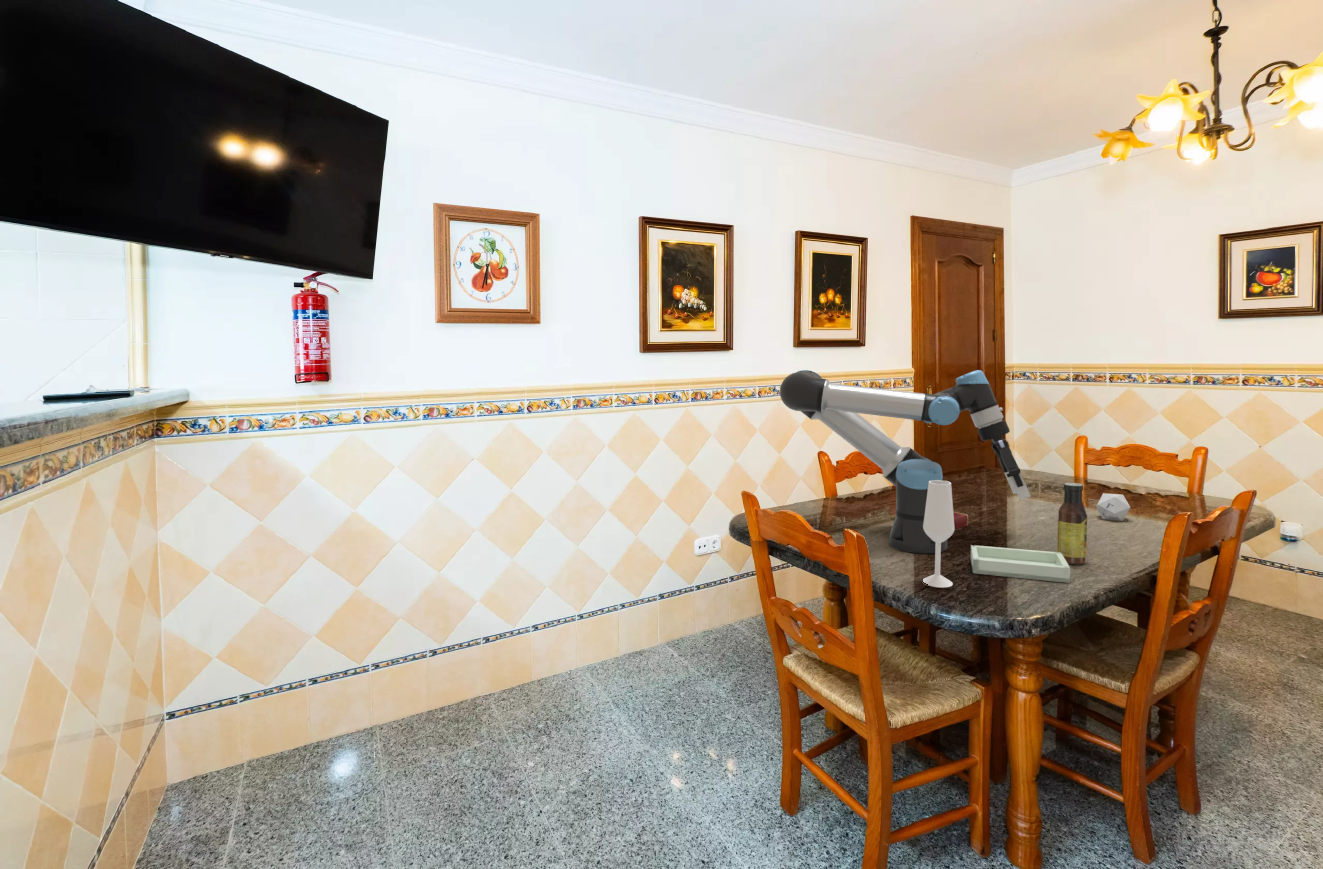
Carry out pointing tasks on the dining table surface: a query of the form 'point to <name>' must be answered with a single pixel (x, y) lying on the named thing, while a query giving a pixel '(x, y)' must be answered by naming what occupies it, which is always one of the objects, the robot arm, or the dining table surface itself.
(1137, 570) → the dining table surface
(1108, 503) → the die
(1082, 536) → the sauce bottle
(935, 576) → the champagne flute
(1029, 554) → the tray
